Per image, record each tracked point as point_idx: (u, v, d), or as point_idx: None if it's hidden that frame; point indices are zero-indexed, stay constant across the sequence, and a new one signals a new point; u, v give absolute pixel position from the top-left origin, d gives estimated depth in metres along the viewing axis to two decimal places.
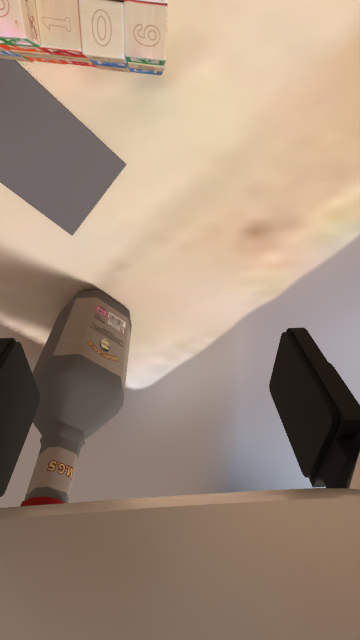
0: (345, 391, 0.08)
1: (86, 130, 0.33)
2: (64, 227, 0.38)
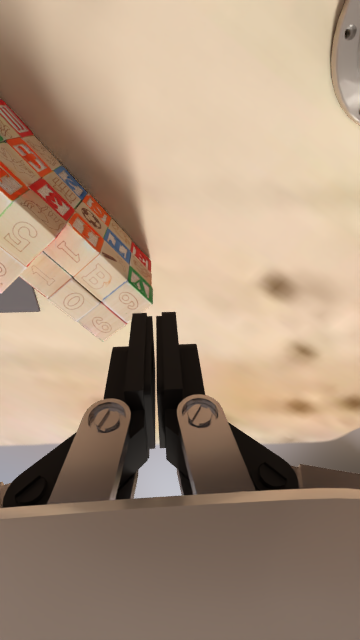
0: (178, 365, 0.09)
1: None
2: None
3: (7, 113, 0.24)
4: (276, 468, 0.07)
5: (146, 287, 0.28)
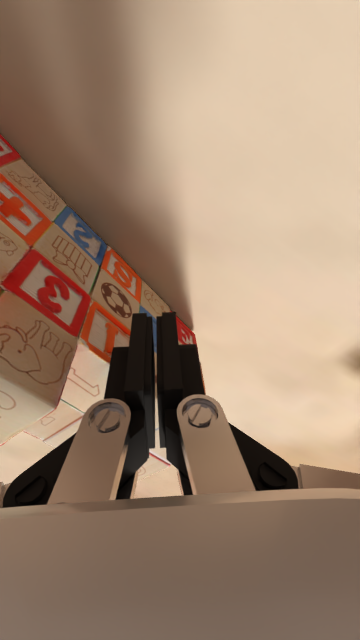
0: (178, 366, 0.09)
1: None
2: None
3: None
4: (276, 468, 0.07)
5: None
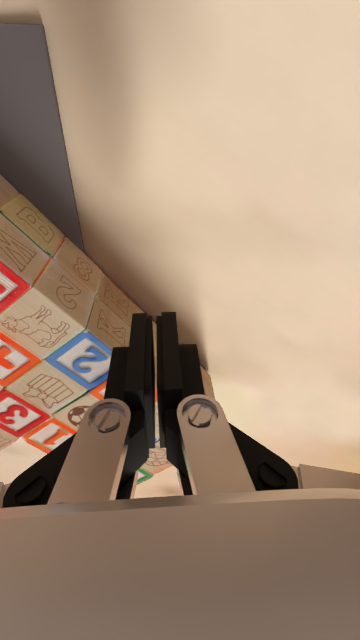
0: (178, 366, 0.09)
1: None
2: None
3: None
4: (276, 468, 0.07)
5: (138, 475, 0.22)
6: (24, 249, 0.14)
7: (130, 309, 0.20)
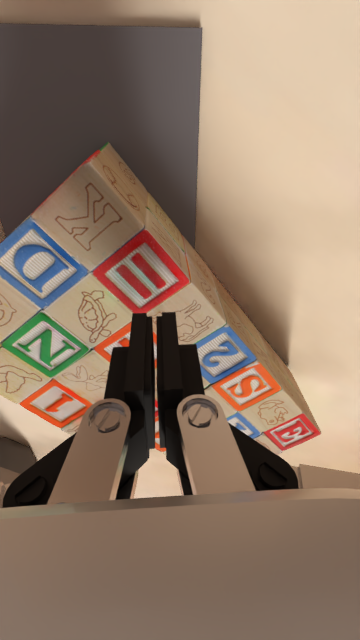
0: (178, 365, 0.09)
1: None
2: None
3: (136, 269, 0.13)
4: (276, 468, 0.07)
5: None
6: (172, 245, 0.14)
7: (234, 305, 0.20)
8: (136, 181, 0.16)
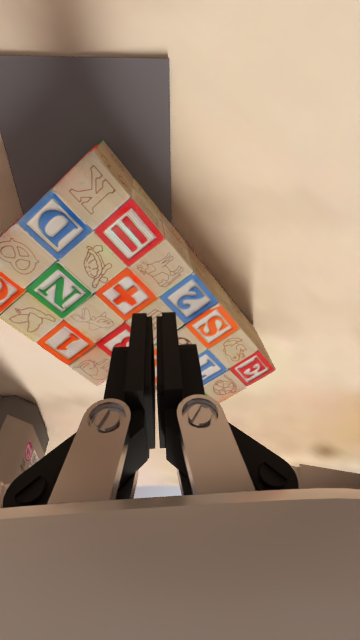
0: (178, 365, 0.09)
1: None
2: None
3: (125, 228, 0.18)
4: (276, 468, 0.07)
5: None
6: (152, 214, 0.20)
7: (204, 268, 0.26)
8: (124, 169, 0.21)
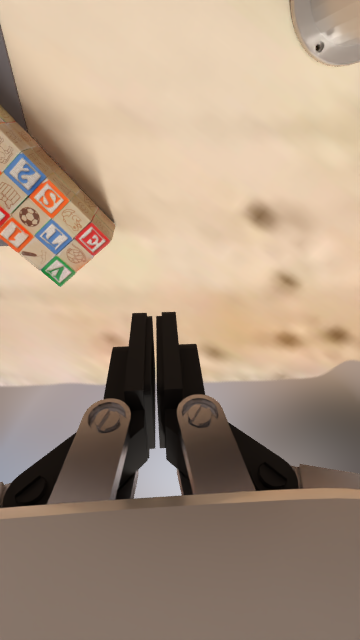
0: (178, 366, 0.09)
1: None
2: None
3: None
4: (276, 468, 0.07)
5: (67, 272, 0.38)
6: None
7: (55, 166, 0.36)
8: None
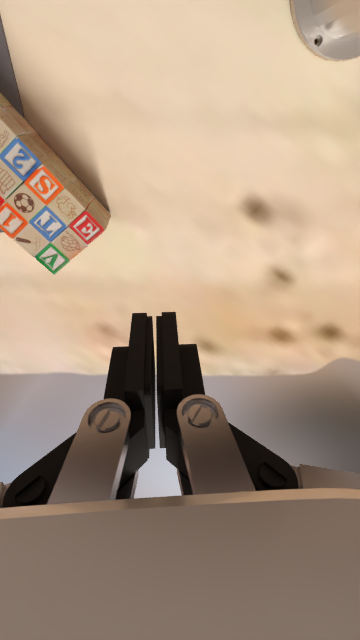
0: (178, 366, 0.09)
1: None
2: None
3: None
4: (276, 468, 0.07)
5: (61, 260, 0.38)
6: None
7: (51, 153, 0.36)
8: None
